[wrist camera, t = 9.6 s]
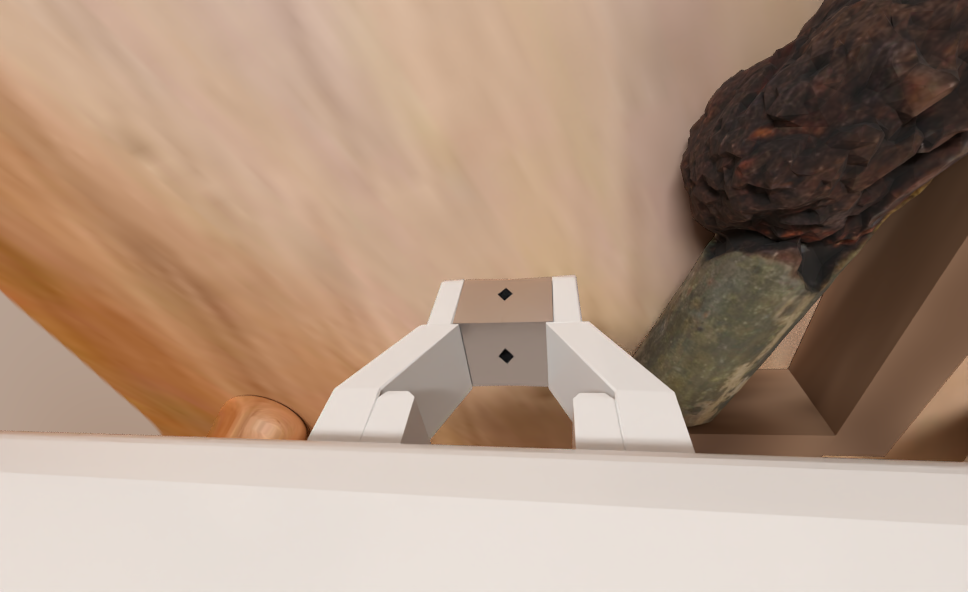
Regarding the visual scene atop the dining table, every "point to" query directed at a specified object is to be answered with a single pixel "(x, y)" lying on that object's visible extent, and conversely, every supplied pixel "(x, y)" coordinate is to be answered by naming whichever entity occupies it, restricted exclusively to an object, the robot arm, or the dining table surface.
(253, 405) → the beer glass
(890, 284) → the walnut cradle
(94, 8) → the dining table surface
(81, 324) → the dining table surface
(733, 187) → the metal pipe
